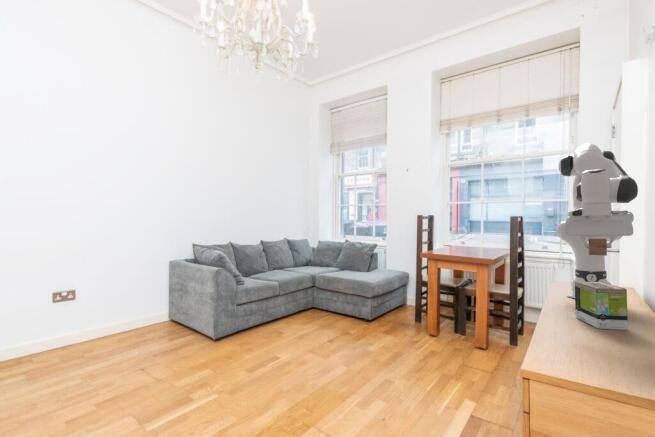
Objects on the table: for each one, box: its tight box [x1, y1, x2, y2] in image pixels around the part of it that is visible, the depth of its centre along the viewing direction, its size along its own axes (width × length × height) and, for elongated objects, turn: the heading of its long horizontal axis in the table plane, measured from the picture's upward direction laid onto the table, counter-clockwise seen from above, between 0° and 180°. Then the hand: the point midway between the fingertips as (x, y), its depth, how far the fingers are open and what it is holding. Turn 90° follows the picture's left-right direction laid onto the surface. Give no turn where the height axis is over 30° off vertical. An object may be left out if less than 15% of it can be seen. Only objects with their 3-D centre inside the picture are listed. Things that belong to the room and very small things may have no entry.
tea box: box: [574, 282, 629, 331], centre depth 124 cm, size 15×10×15 cm
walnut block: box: [588, 238, 608, 257], centre depth 124 cm, size 5×5×6 cm
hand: (597, 247), depth 124 cm, fingers closed on walnut block, 5 cm apart
